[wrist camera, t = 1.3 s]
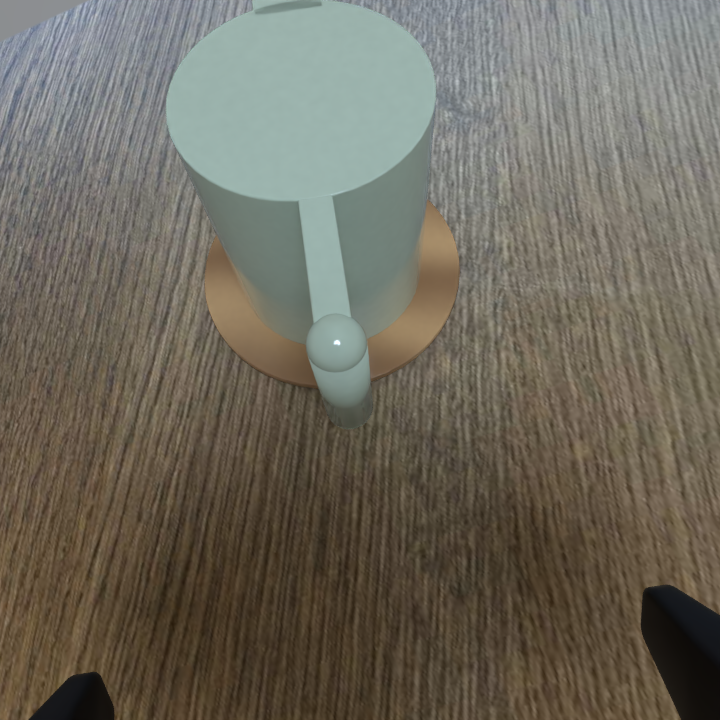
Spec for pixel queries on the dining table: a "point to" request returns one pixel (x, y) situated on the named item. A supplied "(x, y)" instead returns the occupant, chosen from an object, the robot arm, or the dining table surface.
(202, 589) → the dining table surface
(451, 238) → the coaster
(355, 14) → the jug
